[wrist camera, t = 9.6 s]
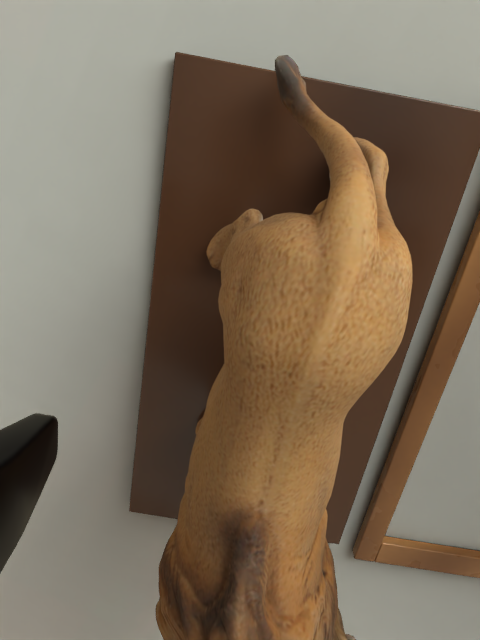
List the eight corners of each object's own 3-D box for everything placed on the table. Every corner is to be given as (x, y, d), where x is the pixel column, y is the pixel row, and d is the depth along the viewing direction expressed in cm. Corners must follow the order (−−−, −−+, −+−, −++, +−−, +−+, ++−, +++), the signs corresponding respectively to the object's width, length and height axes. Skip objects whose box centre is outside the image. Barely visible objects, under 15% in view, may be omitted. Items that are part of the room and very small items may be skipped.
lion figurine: (341, 518, 16) (434, 926, 8) (196, 516, 16) (135, 912, 8) (385, 58, 11) (886, -265, 2) (166, 62, 11) (-147, -221, 2)
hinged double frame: (812, 154, 11) (831, 154, 11) (543, 580, 17) (550, 589, 17) (179, 30, 11) (176, 26, 10) (130, 515, 17) (127, 523, 16)
